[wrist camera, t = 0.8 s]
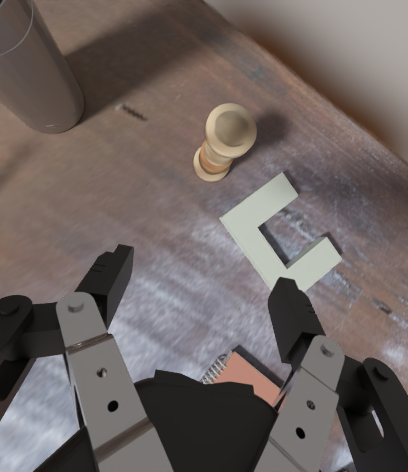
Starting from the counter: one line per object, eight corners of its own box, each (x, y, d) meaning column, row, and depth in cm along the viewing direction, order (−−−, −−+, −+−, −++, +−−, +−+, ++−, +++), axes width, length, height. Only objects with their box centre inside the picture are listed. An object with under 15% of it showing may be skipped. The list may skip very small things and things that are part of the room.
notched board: (218, 218, 38) (221, 216, 36) (276, 175, 40) (282, 171, 38) (280, 303, 39) (286, 306, 37) (333, 258, 41) (342, 259, 39)
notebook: (226, 342, 38) (230, 347, 36) (302, 405, 40) (309, 413, 38) (105, 498, 35) (102, 513, 33) (194, 559, 36) (196, 577, 34)
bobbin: (185, 159, 38) (196, 120, 26) (214, 139, 38) (237, 93, 27) (207, 189, 38) (227, 164, 26) (235, 169, 39) (266, 136, 27)
